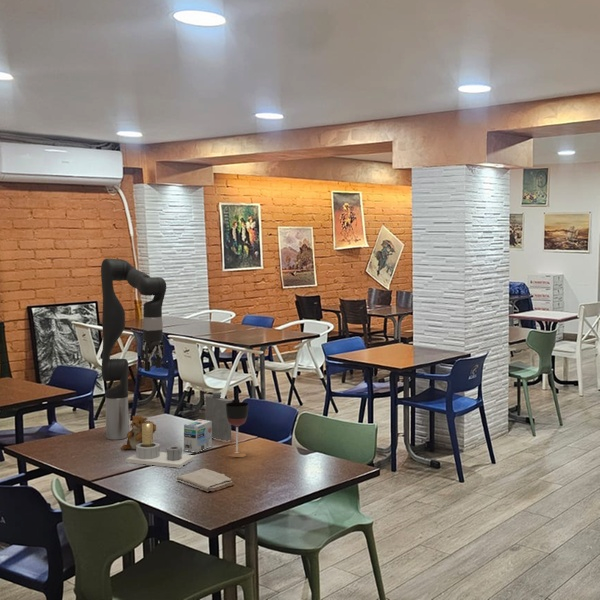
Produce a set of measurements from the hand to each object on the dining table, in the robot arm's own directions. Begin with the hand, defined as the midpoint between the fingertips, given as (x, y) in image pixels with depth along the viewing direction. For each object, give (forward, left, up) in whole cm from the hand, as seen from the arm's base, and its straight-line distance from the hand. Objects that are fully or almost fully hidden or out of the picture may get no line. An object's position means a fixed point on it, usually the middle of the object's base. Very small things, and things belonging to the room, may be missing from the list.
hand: (153, 369), depth 271 cm
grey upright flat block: (-23, +17, -32) cm, 43 cm away
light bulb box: (-7, +16, -32) cm, 37 cm away
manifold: (+12, +10, -32) cm, 36 cm away
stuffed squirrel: (-2, -7, -32) cm, 33 cm away
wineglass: (-4, +34, -32) cm, 47 cm away
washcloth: (+29, +36, -33) cm, 57 cm away
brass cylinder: (+12, +4, -30) cm, 33 cm away
